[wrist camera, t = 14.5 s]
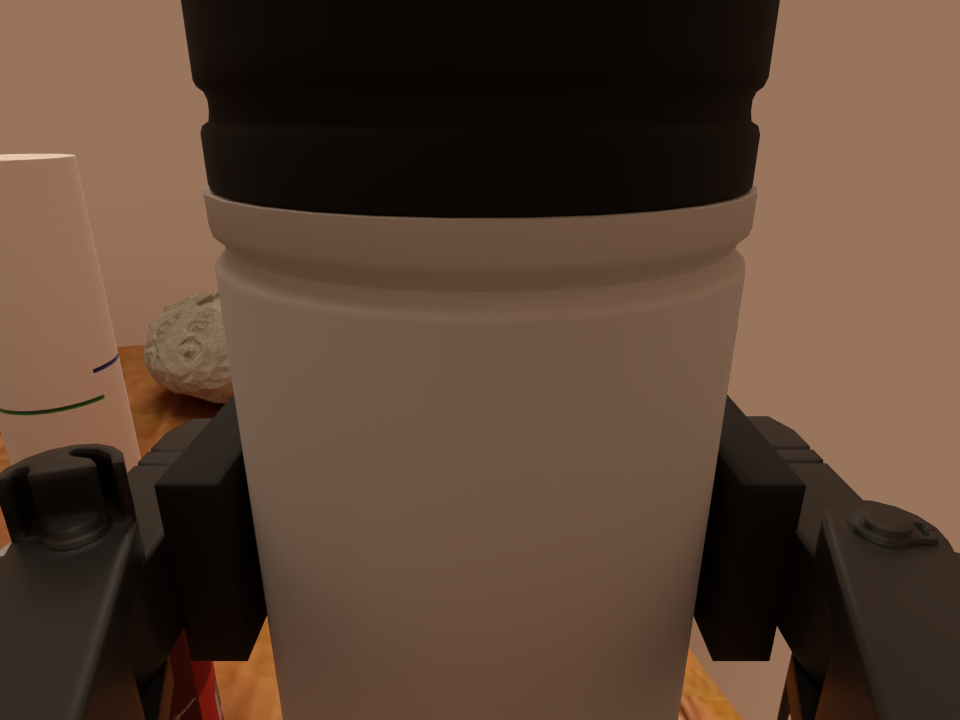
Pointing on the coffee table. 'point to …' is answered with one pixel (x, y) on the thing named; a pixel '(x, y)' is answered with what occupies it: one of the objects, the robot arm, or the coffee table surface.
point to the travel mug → (480, 336)
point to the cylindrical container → (55, 317)
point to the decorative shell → (191, 349)
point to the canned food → (189, 683)
